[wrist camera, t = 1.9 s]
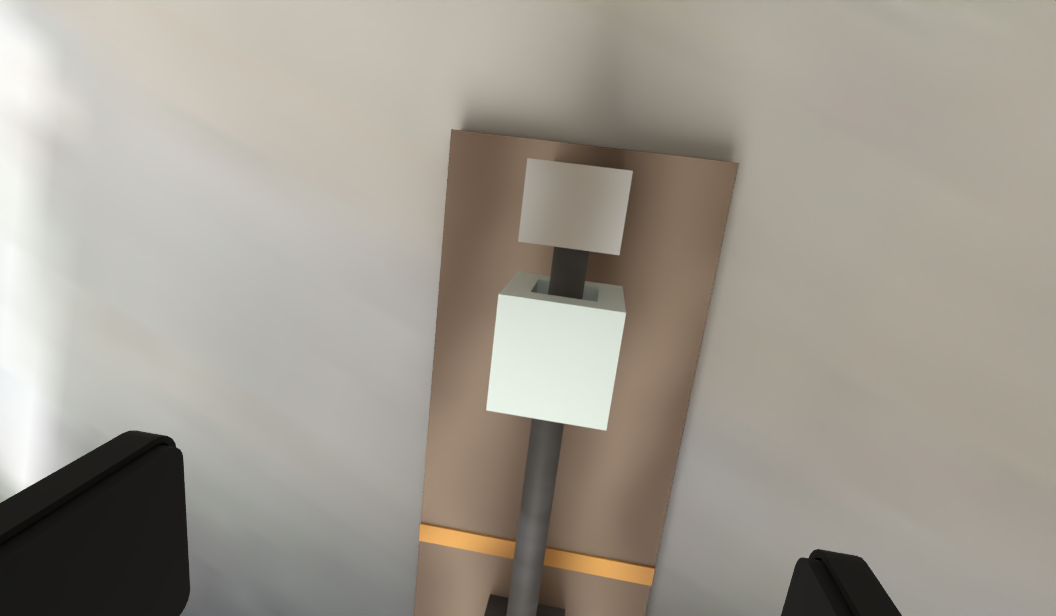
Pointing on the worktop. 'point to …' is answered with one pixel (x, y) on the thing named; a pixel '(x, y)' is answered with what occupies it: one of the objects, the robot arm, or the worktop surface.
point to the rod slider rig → (550, 447)
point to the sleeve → (556, 352)
